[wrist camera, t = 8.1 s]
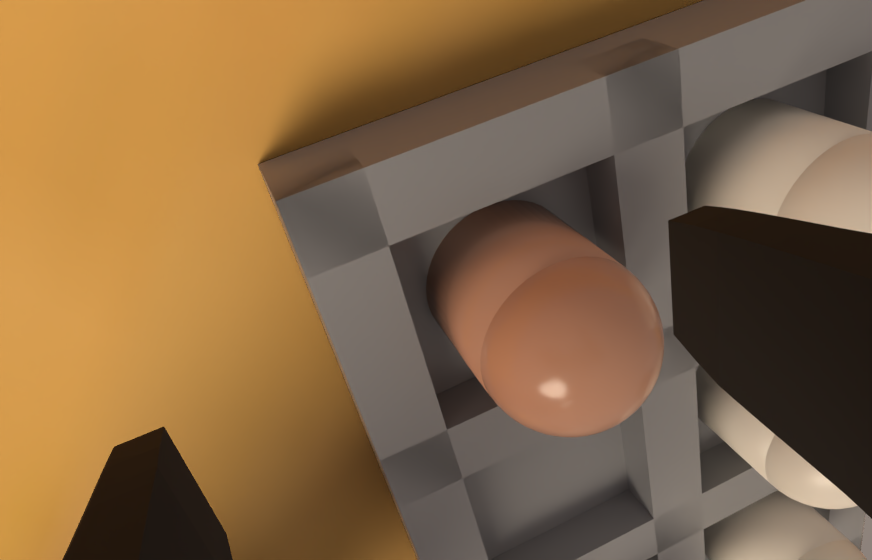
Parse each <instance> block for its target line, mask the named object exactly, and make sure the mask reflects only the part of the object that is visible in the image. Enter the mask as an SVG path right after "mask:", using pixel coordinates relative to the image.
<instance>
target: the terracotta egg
mask: <svg viewBox="0 0 872 560" xmlns="http://www.w3.org/2000/svg"><path fill="white" fill-rule="evenodd" d="M426 295H427V301H428V306H429V308H430V311H431V314H432V315H433V317H434V319H435V321H436V322H437V324H438V325H439V326H440V328H441V329H442V330H443V332H444V333H445V335H446V336H447V337H448V339H449V340H450V342H451V343H452V344H453V346H454V347H455V348H456V350H457V351H458V353H459V354H460V355H461V357H462V358H463V360H464V361H465V362H466V364H467V365H468V366H469V368H470V369H471V371H472V372H473V373H474V375H475V376H476V378H477V379H478V380H479V382H480V383H481V384H482V386H483V387H484V389H485V390H486V391H487V393H488V394H489V396H490V397H491V398H492V399H493V400H494V402H495V403H496V404H497V405H498V406H499V407H500V409H501V410H502V411H504V412H505V413H506V414H507V415H508V416H510V417H511V418H512V419H514V420H515V421H516V422H518V423H520V424H522V425H523V426H525V427H527V428H529V429H531V430H534V431H537V432H539V433H543V434H546V435H550V436H556V437H569V438H573V437H583V436H589V435H594V434H597V433H601V432H603V431H606V430H608V429H610V428H613V427H615V426H616V425H618V424H620V423H622V422H623V421H625V420H626V419H627V418H629V417H630V416H631V415H632V414H633V413H635V412H636V411H637V410H638V409H639V408H640V406H641V405H642V404H643V403H644V402H645V400H646V399H647V398H648V396H649V395H650V393H651V391H652V390H653V388H654V386H655V384H656V382H657V379H658V377H659V374H660V371H661V367H662V362H663V356H664V332H663V326H662V322H661V318H660V315H659V312H658V309H657V307H656V305H655V303H654V301H653V299H652V297H651V295H650V293H649V292H648V291H647V289H646V288H645V287H644V285H643V284H642V283H641V282H640V280H639V279H638V278H637V277H636V276H635V275H634V274H632V273H631V272H630V271H629V270H628V269H627V268H625V267H624V266H623V265H622V264H620V263H619V262H618V261H616V260H615V259H614V258H612V257H611V256H609V255H608V254H607V253H605V252H604V251H603V250H601V249H600V248H599V247H597V246H596V245H595V244H593V243H592V242H591V241H589V240H588V239H587V238H585V237H584V236H583V235H581V234H580V233H579V232H577V231H576V230H575V229H573V228H572V227H571V226H569V225H568V224H567V223H565V222H564V221H563V220H561V219H560V218H559V217H557V216H556V215H555V214H553V213H552V212H551V211H549V210H548V209H546V208H544V207H543V206H541V205H538V204H535V203H533V202H528V201H521V200H509V201H501V202H497V203H494V204H492V205H489V206H487V207H484V208H482V209H479V210H477V211H474V212H473V213H471V214H470V215H468V216H466V217H465V218H464V219H463V220H461V221H460V222H459V223H458V224H456V225H455V226H454V227H453V228H452V229H451V230H450V231H449V233H448V234H447V235H446V236H445V238H444V239H443V240H442V242H441V243H440V245H439V247H438V248H437V250H436V252H435V254H434V256H433V258H432V261H431V264H430V267H429V270H428V275H427V282H426Z"/></svg>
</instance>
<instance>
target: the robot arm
mask: <svg viewBox="0 0 872 560" xmlns="http://www.w3.org/2000/svg"><path fill="white" fill-rule="evenodd" d="M668 229H669V251H670V272H671V293H672V315H673V334H674V336H675V337H676V338H677V339H678V340H679V341H680V343H681V344H682V345H683V346H684V347H685V349H686V350H687V351H688V352H689V353H690V354H691V356H692V357H693V358H694V359H695V360H696V361H697V363H698V364H699V365H700V366H701V367H702V368H703V369H704V370H705V371H706V372H707V373H708V375H709V376H710V377H711V378H712V379H713V380H714V381H715V382H716V383H717V384H718V385H719V386H720V387H721V388H722V389H723V390H724V391H725V392H727V393H728V394H729V395H730V396H731V397H732V398H733V399H734V400H736V401H737V402H738V403H739V404H740V405H741V406H743V407H744V408H745V409H746V410H747V411H748V412H749V413H751V414H752V415H753V416H754V417H755V418H756V419H758V420H759V421H760V422H761V423H762V424H763V425H765V426H766V427H767V428H768V429H769V430H770V431H772V432H773V433H774V434H775V435H776V436H777V437H779V438H780V439H781V440H782V441H783V442H785V443H786V444H787V445H788V446H789V447H790V448H792V449H793V450H794V451H795V452H796V453H797V454H799V455H800V456H801V457H802V458H803V459H805V460H806V461H807V462H808V463H809V464H810V465H812V466H813V467H814V468H815V469H816V470H818V471H819V472H820V473H821V474H822V475H823V476H825V477H826V478H827V479H828V480H829V481H830V482H832V483H833V484H834V485H835V486H836V487H838V488H839V489H840V490H841V491H842V492H843V493H844V494H846V495H847V496H848V497H849V498H850V499H851V500H852V501H853V502H854V503H855V504H856V505H858V506H859V507H860V508H861V509H862V510H863V511H864V512H865V513H866V514H867V515H869V516H870V517H871V518H872V233H866V232H860V231H855V230H849V229H844V228H838V227H833V226H828V225H822V224H817V223H812V222H806V221H801V220H796V219H790V218H785V217H780V216H774V215H768V214H763V213H757V212H751V211H745V210H739V209H732V208H724V207H715V206H702V207H700V208H697V209H695V210H692V211H690V212H688V213H685V214H683V215H680V216H678V217H675V218H673V219H670V220H668ZM63 560H233V559H232V555H231V551H230V547H229V543H228V539H227V535H226V532H225V531H224V529H223V527H222V526H221V524H220V522H219V520H218V519H217V517H216V515H215V514H214V512H213V510H212V508H211V507H210V505H209V503H208V501H207V500H206V498H205V496H204V495H203V493H202V491H201V489H200V488H199V486H198V484H197V483H196V481H195V479H194V477H193V476H192V474H191V472H190V471H189V469H188V467H187V465H186V464H185V462H184V460H183V458H182V457H181V455H180V453H179V452H178V450H177V448H176V446H175V445H174V443H173V441H172V440H171V438H170V436H169V434H168V433H167V431H166V429H165V428H164V427H161V428H159V429H157V430H154V431H152V432H149V433H147V434H144V435H142V436H139V437H137V438H135V439H132V440H130V441H127V442H125V443H122V444H120V445H117V446H115V447H114V448H113V450H112V452H111V454H110V456H109V458H108V460H107V462H106V465H105V467H104V469H103V471H102V473H101V475H100V478H99V480H98V482H97V484H96V487H95V489H94V491H93V493H92V496H91V498H90V500H89V502H88V505H87V507H86V509H85V511H84V514H83V516H82V518H81V520H80V523H79V525H78V527H77V529H76V531H75V534H74V536H73V538H72V540H71V543H70V545H69V547H68V549H67V551H66V553H65V555H64V558H63Z"/></svg>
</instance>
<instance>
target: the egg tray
mask: <svg viewBox="0 0 872 560" xmlns="http://www.w3.org/2000/svg"><path fill="white" fill-rule="evenodd" d="M258 166H259V169H260V171H261V174H262V176H263V179H264V181H265V184H266V186H267V189H268V191H269V194H270V196H271V199H272V201H273V203H274V206H275V208H276V211H277V213H278V216H279V218H280V221H281V223H282V226H283V228H284V231H285V233H286V236H287V238H288V241H289V243H290V246H291V248H292V251H293V253H294V255H295V258H296V260H297V263H298V265H299V268H300V270H301V273H302V275H303V278H304V280H305V283H306V285H307V288H308V290H309V293H310V295H311V298H312V300H313V302H314V305H315V307H316V310H317V312H318V315H319V317H320V320H321V322H322V325H323V327H324V330H325V332H326V335H327V337H328V340H329V342H330V345H331V347H332V350H333V352H334V354H335V357H336V359H337V362H338V364H339V367H340V369H341V372H342V374H343V377H344V379H345V382H346V384H347V387H348V389H349V392H350V394H351V397H352V399H353V401H354V404H355V406H356V409H357V411H358V414H359V416H360V419H361V421H362V424H363V426H364V429H365V431H366V434H367V436H368V439H369V441H370V444H371V446H372V449H373V451H374V453H375V456H376V458H377V461H378V463H379V466H380V468H381V471H382V473H383V476H384V478H385V481H386V483H387V486H388V488H389V491H390V493H391V496H392V498H393V501H394V503H395V505H396V508H397V510H398V513H399V515H400V518H401V520H402V523H403V525H404V528H405V530H406V533H407V535H408V538H409V540H410V543H411V545H412V548H413V550H414V552H415V555H416V557H417V560H867V559H866V558H865V557H864V555H863V554H862V553H861V543H862V536H863V529H864V522H865V514H866V513H865V512H864V511H863V510H862V509H861V508H860V507H859V506H858V505H856V504H855V503H854V502H853V501H852V500H851V499H850V498H849V497H848V496H847V495H846V494H844V493H843V492H842V491H841V490H840V489H839V488H838V487H836V486H835V485H834V484H833V483H832V482H830V481H829V480H828V479H827V478H826V477H825V476H823V475H822V474H821V473H820V472H819V471H818V470H816V469H815V468H814V467H813V466H812V465H810V464H809V463H808V462H807V461H806V460H805V459H803V458H802V457H801V456H800V455H799V454H797V453H796V452H795V451H794V450H793V449H792V448H790V447H789V446H788V445H787V444H786V443H785V442H783V441H782V440H781V439H780V438H779V437H777V436H776V435H775V434H774V433H773V432H772V431H770V430H769V429H768V428H767V427H766V426H765V425H763V424H762V423H761V422H760V421H759V420H758V419H756V418H755V417H754V416H753V415H752V414H751V413H749V412H748V411H747V410H746V409H745V408H744V407H743V406H741V405H740V404H739V403H738V402H737V401H736V400H734V399H733V398H732V397H731V396H730V395H729V394H728V393H727V392H725V391H724V390H723V389H722V388H721V387H720V386H719V385H718V384H717V383H716V382H715V381H714V380H713V379H712V378H711V377H710V376H709V375H708V373H707V372H706V371H705V370H704V369H703V368H702V367H701V366H700V365H699V364H698V363H697V361H696V360H695V359H694V358H693V357H692V356H691V354H690V353H689V352H688V351H687V350H686V349H685V347H684V346H683V345H682V344H681V343H680V341H679V340H678V339H677V338H676V337H675V336H674V334H673V315H672V293H671V272H670V251H669V229H668V220H670V219H673V218H675V217H678V216H680V215H683V214H685V213H688V212H690V211H692V210H695V209H697V208H700V207H702V206H715V207H724V208H732V209H739V210H745V211H751V212H757V213H763V214H768V215H774V216H780V217H785V218H790V219H796V220H801V221H806V222H812V223H817V224H822V225H828V226H833V227H838V228H844V229H849V230H855V231H860V232H866V233H872V0H704V1H701V2H698V3H695V4H693V5H690V6H687V7H685V8H682V9H679V10H676V11H674V12H671V13H668V14H665V15H663V16H660V17H657V18H655V19H652V20H649V21H646V22H644V23H641V24H638V25H636V26H633V27H630V28H627V29H625V30H622V31H619V32H616V33H614V34H611V35H608V36H606V37H603V38H600V39H597V40H595V41H592V42H589V43H587V44H584V45H581V46H578V47H576V48H573V49H570V50H567V51H565V52H562V53H559V54H557V55H554V56H551V57H548V58H546V59H543V60H540V61H538V62H535V63H532V64H529V65H527V66H524V67H521V68H518V69H516V70H513V71H510V72H508V73H505V74H502V75H499V76H497V77H494V78H491V79H489V80H486V81H483V82H480V83H478V84H475V85H472V86H469V87H467V88H464V89H461V90H459V91H456V92H453V93H450V94H448V95H445V96H442V97H440V98H437V99H434V100H431V101H429V102H426V103H423V104H420V105H418V106H415V107H412V108H410V109H407V110H404V111H401V112H399V113H396V114H393V115H391V116H388V117H385V118H382V119H380V120H377V121H374V122H371V123H369V124H366V125H363V126H361V127H358V128H355V129H352V130H350V131H347V132H344V133H342V134H339V135H336V136H333V137H331V138H328V139H325V140H322V141H320V142H317V143H314V144H312V145H309V146H306V147H303V148H301V149H298V150H295V151H293V152H290V153H287V154H284V155H282V156H279V157H276V158H273V159H271V160H268V161H265V162H263V163H260V164H258ZM509 200H521V201H528V202H533V203H535V204H538V205H541V206H543V207H544V208H546V209H548V210H549V211H551V212H552V213H553V214H555V215H556V216H557V217H559V218H560V219H561V220H563V221H564V222H565V223H567V224H568V225H569V226H571V227H572V228H573V229H575V230H576V231H577V232H579V233H580V234H581V235H583V236H584V237H585V238H587V239H588V240H589V241H591V242H592V243H593V244H595V245H596V246H597V247H599V248H600V249H601V250H603V251H604V252H605V253H607V254H608V255H609V256H611V257H612V258H614V259H615V260H616V261H618V262H619V263H620V264H622V265H623V266H624V267H625V268H627V269H628V270H629V271H630V272H631V273H632V274H634V275H635V276H636V277H637V278H638V279H639V280H640V282H641V283H642V284H643V285H644V287H645V288H646V289H647V291H648V292H649V293H650V295H651V297H652V299H653V301H654V303H655V305H656V307H657V309H658V312H659V315H660V318H661V322H662V326H663V332H664V356H663V362H662V367H661V371H660V374H659V377H658V379H657V382H656V384H655V386H654V388H653V390H652V391H651V393H650V395H649V396H648V398H647V399H646V400H645V402H644V403H643V404H642V405H641V406H640V408H639V409H638V410H637V411H636V412H635V413H633V414H632V415H631V416H630V417H629V418H627V419H626V420H625V421H623V422H622V423H620V424H618V425H616V426H615V427H613V428H610V429H608V430H606V431H603V432H601V433H597V434H594V435H589V436H583V437H573V438H569V437H556V436H550V435H546V434H543V433H539V432H537V431H534V430H531V429H529V428H527V427H525V426H523V425H522V424H520V423H518V422H516V421H515V420H514V419H512V418H511V417H510V416H508V415H507V414H506V413H505V412H504V411H502V410H501V409H500V407H499V406H498V405H497V404H496V403H495V402H494V400H493V399H492V398H491V397H490V396H489V394H488V393H487V391H486V390H485V389H484V387H483V386H482V384H481V383H480V382H479V380H478V379H477V378H476V376H475V375H474V373H473V372H472V371H471V369H470V368H469V366H468V365H467V364H466V362H465V361H464V360H463V358H462V357H461V355H460V354H459V353H458V351H457V350H456V348H455V347H454V346H453V344H452V343H451V342H450V340H449V339H448V337H447V336H446V335H445V333H444V332H443V330H442V329H441V328H440V326H439V325H438V324H437V322H436V321H435V319H434V317H433V315H432V314H431V311H430V308H429V306H428V301H427V295H426V282H427V275H428V270H429V267H430V264H431V261H432V258H433V256H434V254H435V252H436V250H437V248H438V247H439V245H440V243H441V242H442V240H443V239H444V238H445V236H446V235H447V234H448V233H449V231H450V230H451V229H452V228H453V227H454V226H455V225H456V224H458V223H459V222H460V221H461V220H463V219H464V218H465V217H466V216H468V215H470V214H471V213H473V212H474V211H477V210H479V209H482V208H484V207H487V206H489V205H492V204H494V203H497V202H501V201H509Z"/></svg>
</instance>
